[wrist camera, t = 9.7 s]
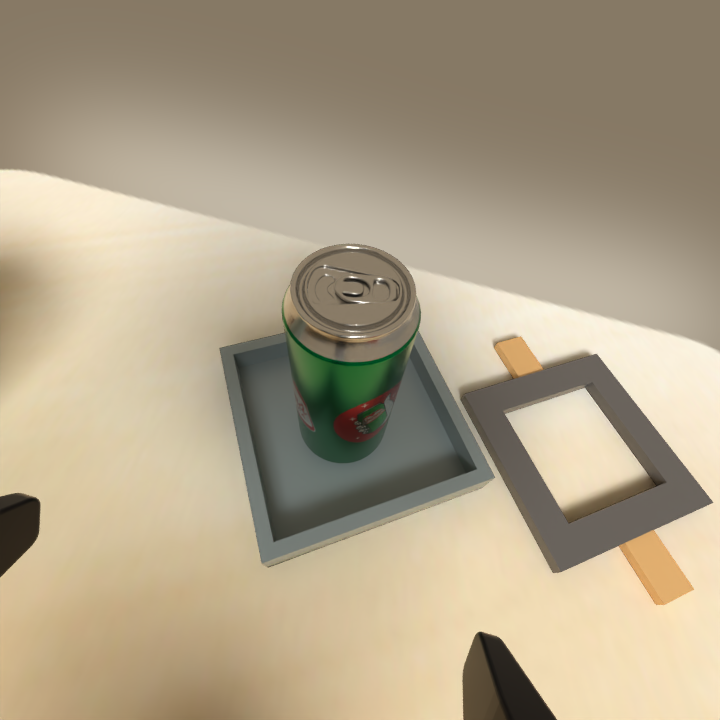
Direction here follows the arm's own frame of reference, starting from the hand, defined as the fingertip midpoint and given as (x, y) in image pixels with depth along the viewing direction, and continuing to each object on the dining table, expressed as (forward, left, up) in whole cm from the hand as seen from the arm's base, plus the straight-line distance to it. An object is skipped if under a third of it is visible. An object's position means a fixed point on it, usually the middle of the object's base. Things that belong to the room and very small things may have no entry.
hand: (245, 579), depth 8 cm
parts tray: (+5, +8, -14) cm, 16 cm away
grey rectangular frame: (+18, +2, -14) cm, 23 cm away
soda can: (+5, +8, -13) cm, 16 cm away
